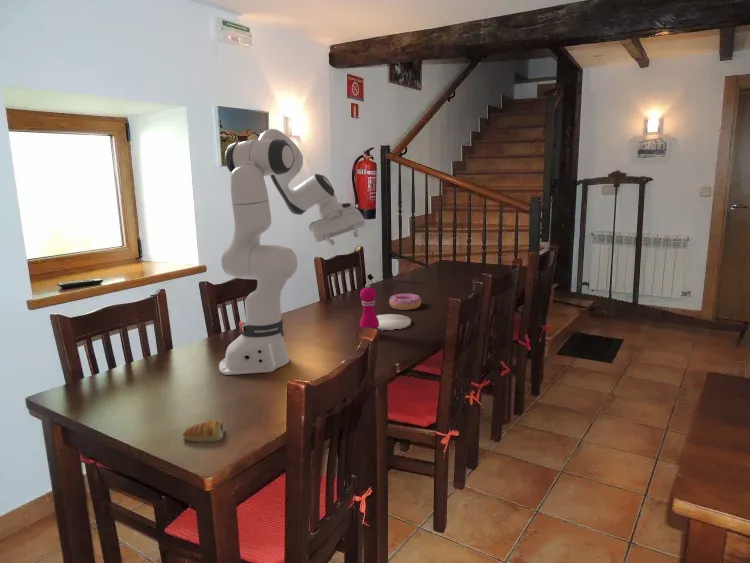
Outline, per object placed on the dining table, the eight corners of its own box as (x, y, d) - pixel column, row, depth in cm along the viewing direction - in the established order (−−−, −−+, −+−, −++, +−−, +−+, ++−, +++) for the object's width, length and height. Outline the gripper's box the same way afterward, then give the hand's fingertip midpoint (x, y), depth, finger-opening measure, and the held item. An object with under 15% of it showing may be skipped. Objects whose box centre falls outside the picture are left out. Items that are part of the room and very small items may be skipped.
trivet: (372, 332, 204) (372, 328, 204) (361, 320, 221) (361, 317, 221) (417, 327, 208) (417, 323, 208) (402, 315, 225) (402, 312, 225)
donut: (421, 302, 246) (421, 292, 245) (421, 311, 233) (420, 299, 232) (390, 303, 248) (390, 292, 247) (388, 311, 234) (387, 300, 233)
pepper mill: (377, 338, 196) (375, 285, 192) (358, 338, 198) (355, 285, 194) (381, 332, 203) (379, 281, 199) (362, 332, 205) (360, 281, 201)
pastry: (181, 446, 124) (179, 431, 123) (186, 433, 131) (184, 418, 130) (223, 441, 126) (221, 426, 125) (226, 428, 132) (224, 414, 131)
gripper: (305, 218, 203) (317, 244, 195) (356, 201, 206) (369, 225, 198) (308, 229, 208) (319, 254, 200) (357, 212, 211) (370, 236, 203)
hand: (344, 240), depth 199 cm, fingers open, 8 cm apart
